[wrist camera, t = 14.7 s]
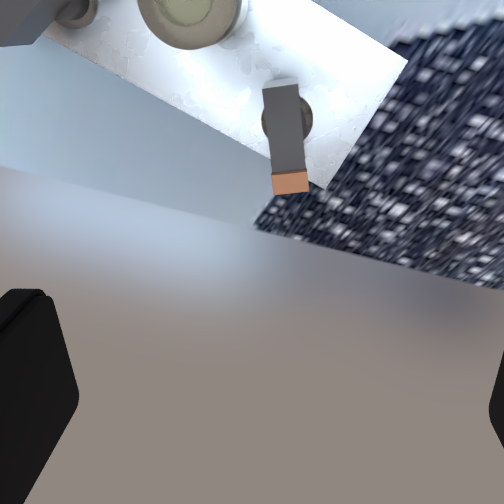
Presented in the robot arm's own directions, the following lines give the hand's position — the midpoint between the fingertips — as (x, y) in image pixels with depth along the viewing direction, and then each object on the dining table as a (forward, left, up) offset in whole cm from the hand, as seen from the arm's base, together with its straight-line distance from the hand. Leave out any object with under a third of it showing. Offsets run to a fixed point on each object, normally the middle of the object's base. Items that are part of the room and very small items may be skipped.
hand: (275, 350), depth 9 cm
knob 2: (0, 0, -24) cm, 24 cm away
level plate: (-8, +2, -26) cm, 28 cm away
